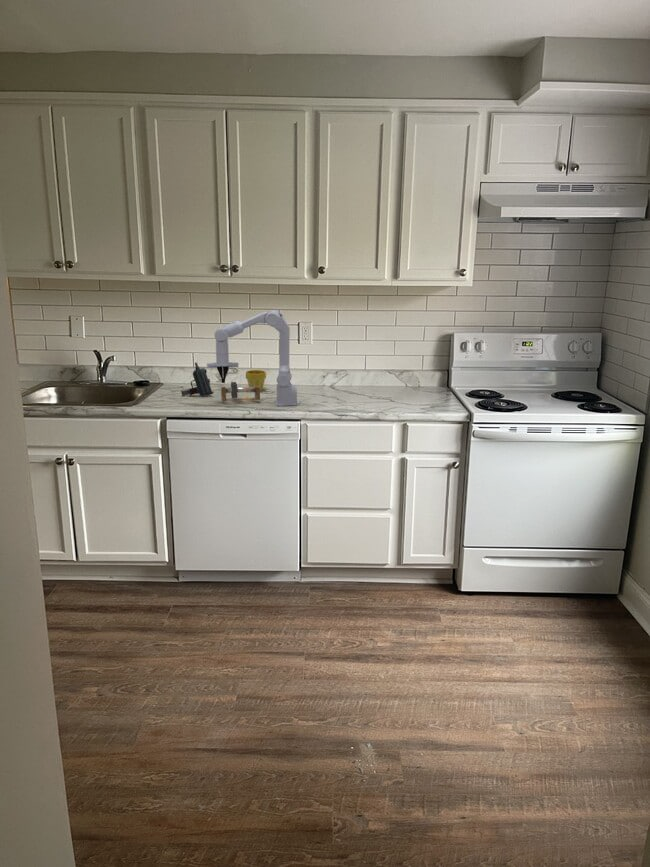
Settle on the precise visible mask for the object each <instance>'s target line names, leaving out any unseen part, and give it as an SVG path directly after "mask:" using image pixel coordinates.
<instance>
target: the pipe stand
mask: <svg viewBox="0 0 650 867" xmlns="http://www.w3.org/2000/svg"><path fill="white" fill-rule="evenodd" d="M253 392H254V397H237V398H232V397H231V398H229V397H228V398H227V393H228V394H229V393H232V388H231V387H225V386H220V394H221V396H220V397H221V400H220V401H221V404H222V405H239V404H242V405H243V404H260V403H261V391H260V387H259V386H255V387H249V386H240V387H239V386H237V393H253Z"/></svg>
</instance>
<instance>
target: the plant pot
mask: <svg viewBox="0 0 650 867" xmlns="http://www.w3.org/2000/svg"><path fill="white" fill-rule="evenodd" d="M266 378H267V371H265V370H262V369H251V370H250V369H249V370H247V371H245V379H246V380H247V384H248V387H255V386H259V387H260V392H262V391H263V390H264V385H265V380H266Z"/></svg>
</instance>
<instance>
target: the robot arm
mask: <svg viewBox="0 0 650 867" xmlns="http://www.w3.org/2000/svg"><path fill="white" fill-rule="evenodd" d="M257 324H264V325H265V324H267V325H268V326H270V327H272V328H274V329H275V330H276V331H278V333H279V334H278V335H279V336H278V337H279V350H278V351H279V353H278V354H279V355H278V356H279V357H278V358H279V361H278V363H279V366H278V374H277V377H276V383H277V384H276V400H275V401H274V403H275V405H276V406H277V407H280V406H281V407H286V406H298V404H297V403H298V398H297V396H298V392H297V390H298V389H297V385H293V383H292V382H291V380H292V376H293V375H292V372H291V368H290V337H291V336H290V335H291V334H290V333H291V332H290V325H289V324H288V322H287V321H286V319H285V317H284V315H283V314H282V313H281V312H280V311H278V310H276V309H271V310H269V311H264V312H261V313H259V314H257V315H254V316H252V317H250V318H248V319H245V320H243V321H239V320H236V321H235V320H233V321H231V323H229V324H226V325H222V327H220V328H218V329H217V330H215V332H214V339H215V357H216V358H215V359H216V362H209V363H206V369H212V368H213V369H215V368H216V370H217V372H218V374H219V376H220V380H221V384H225V383H226V378H227V375H228V372H229V370H230V368H239V362H233V361H232V362H230V361H229V358H230V357H229V338H232V337H236V336H237V335H240V334H242V333H243V332H244V331H245V329H247V328H249V327H251V326H254V325H257Z"/></svg>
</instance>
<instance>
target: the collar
mask: <svg viewBox="0 0 650 867" xmlns="http://www.w3.org/2000/svg"><path fill="white" fill-rule="evenodd" d="M237 387H238V383H237V381H231V382H230V388H232V393H231V398H238V392H237Z"/></svg>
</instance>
